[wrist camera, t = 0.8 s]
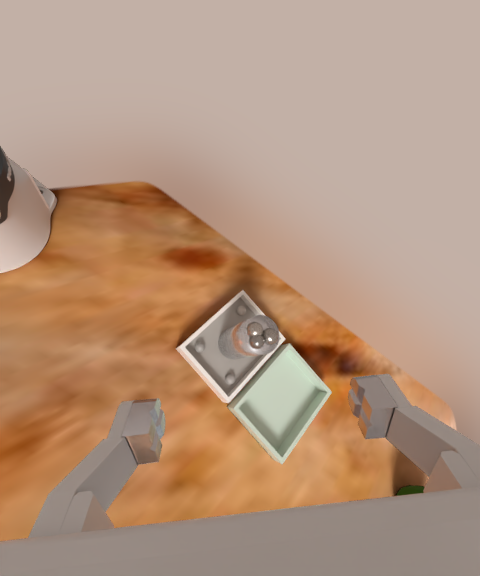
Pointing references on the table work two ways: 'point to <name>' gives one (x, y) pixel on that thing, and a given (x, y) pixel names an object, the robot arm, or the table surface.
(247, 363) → the bin
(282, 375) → the bin
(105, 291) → the table surface
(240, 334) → the chrome tube with bumps
